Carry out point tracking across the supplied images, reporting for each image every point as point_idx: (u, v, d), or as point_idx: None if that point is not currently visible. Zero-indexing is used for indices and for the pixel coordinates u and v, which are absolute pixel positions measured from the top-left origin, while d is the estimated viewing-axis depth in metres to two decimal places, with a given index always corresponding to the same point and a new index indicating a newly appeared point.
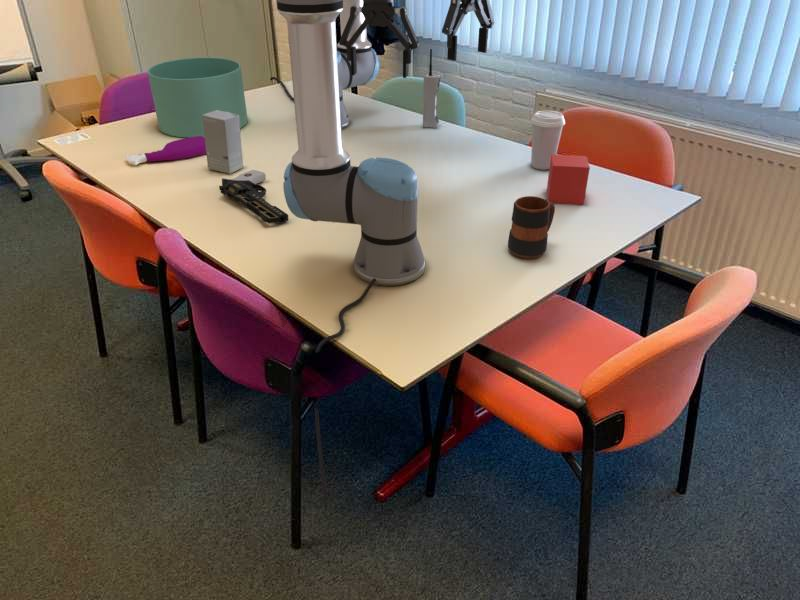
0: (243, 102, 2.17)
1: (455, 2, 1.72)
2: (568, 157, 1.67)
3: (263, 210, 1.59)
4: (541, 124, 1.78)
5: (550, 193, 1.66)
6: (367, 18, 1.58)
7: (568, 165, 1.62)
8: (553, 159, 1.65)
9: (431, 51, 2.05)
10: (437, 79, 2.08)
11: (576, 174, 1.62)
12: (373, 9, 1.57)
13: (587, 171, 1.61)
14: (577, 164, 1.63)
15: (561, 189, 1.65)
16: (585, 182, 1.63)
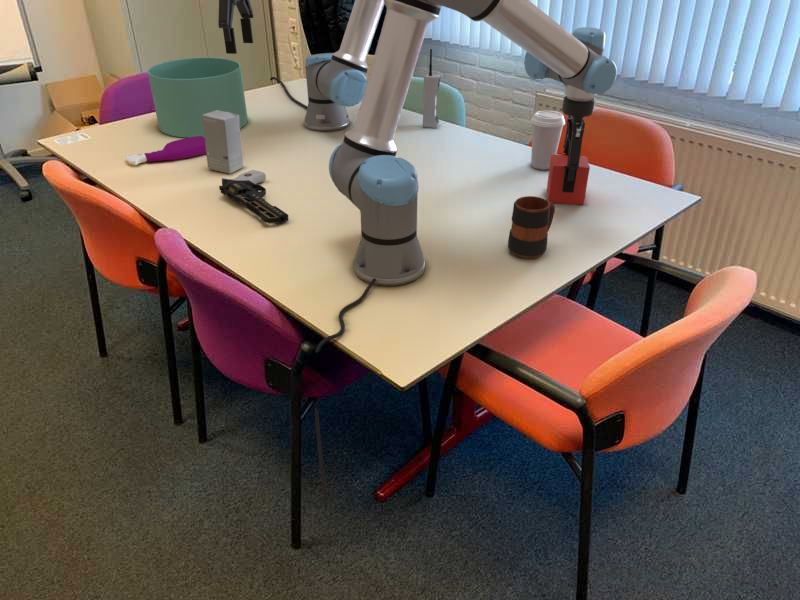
0: (243, 102, 2.17)
1: None
2: None
3: (263, 210, 1.59)
4: (541, 124, 1.78)
5: (550, 193, 1.66)
6: None
7: None
8: (553, 159, 1.65)
9: (431, 51, 2.05)
10: (437, 79, 2.08)
11: (576, 174, 1.62)
12: None
13: (587, 171, 1.61)
14: None
15: (561, 189, 1.65)
16: (585, 182, 1.63)
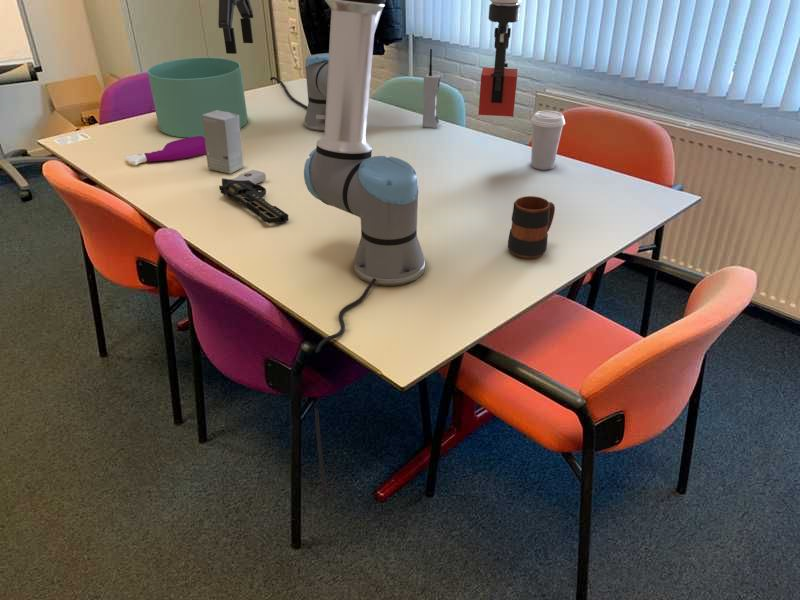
0: (243, 102, 2.17)
1: None
2: None
3: (263, 210, 1.59)
4: (541, 124, 1.78)
5: (480, 105, 1.67)
6: (509, 37, 1.58)
7: None
8: (483, 70, 1.66)
9: (431, 51, 2.05)
10: (437, 79, 2.08)
11: (504, 84, 1.63)
12: (507, 27, 1.58)
13: (515, 80, 1.62)
14: (506, 74, 1.63)
15: (490, 100, 1.65)
16: (513, 92, 1.64)
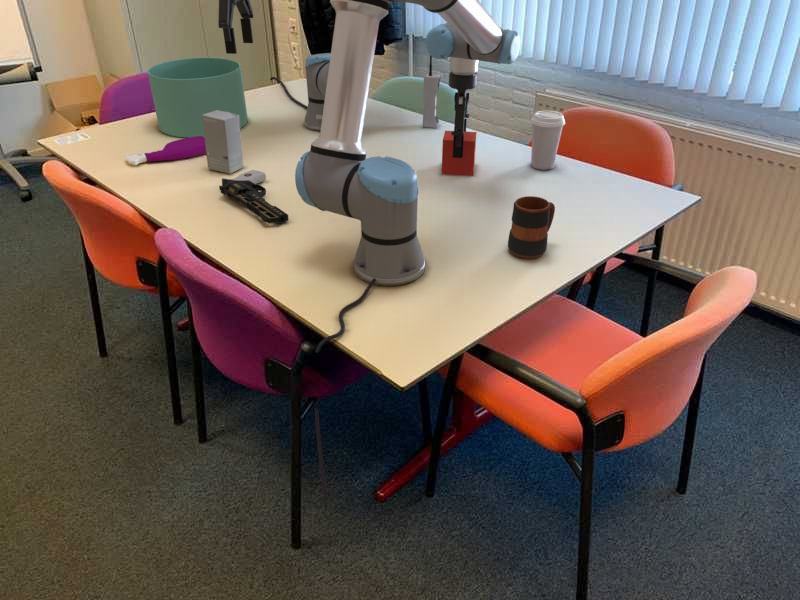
0: (243, 102, 2.17)
1: None
2: None
3: (263, 210, 1.59)
4: (541, 124, 1.78)
5: (442, 165, 1.82)
6: (467, 102, 1.73)
7: None
8: (445, 134, 1.82)
9: None
10: (437, 79, 2.08)
11: (463, 148, 1.78)
12: None
13: (473, 145, 1.77)
14: (465, 138, 1.79)
15: (452, 161, 1.81)
16: (472, 155, 1.79)
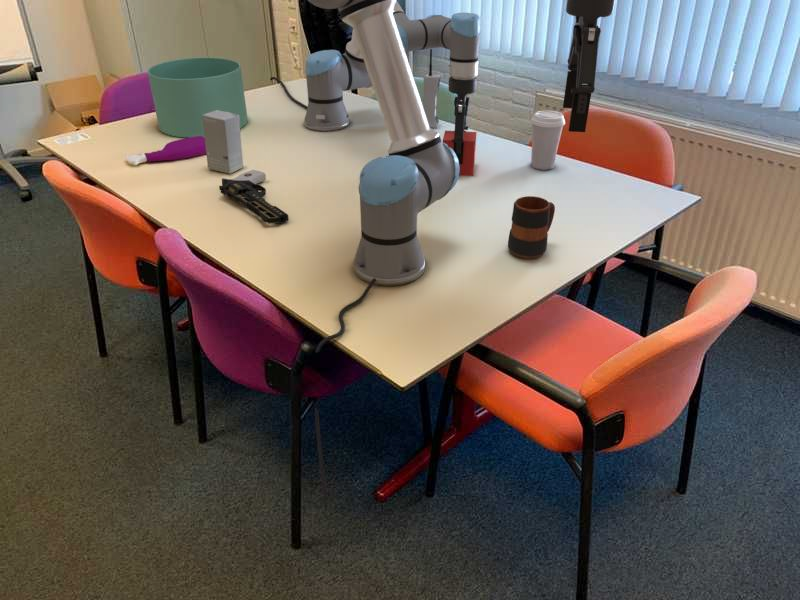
0: (243, 102, 2.17)
1: None
2: None
3: (263, 210, 1.59)
4: (541, 124, 1.78)
5: None
6: None
7: None
8: (445, 134, 1.82)
9: (431, 51, 2.05)
10: (437, 79, 2.08)
11: None
12: None
13: (473, 145, 1.78)
14: (465, 138, 1.79)
15: None
16: (472, 155, 1.79)
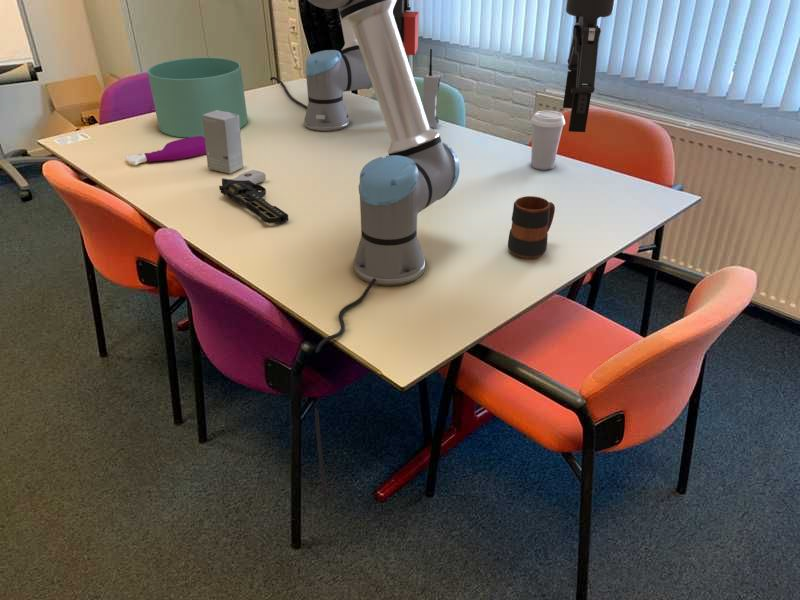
0: (243, 102, 2.17)
1: None
2: None
3: (263, 210, 1.59)
4: (541, 124, 1.78)
5: None
6: None
7: None
8: None
9: (431, 51, 2.05)
10: (437, 79, 2.08)
11: (404, 24, 1.79)
12: None
13: (413, 21, 1.78)
14: (406, 15, 1.79)
15: None
16: (413, 32, 1.79)
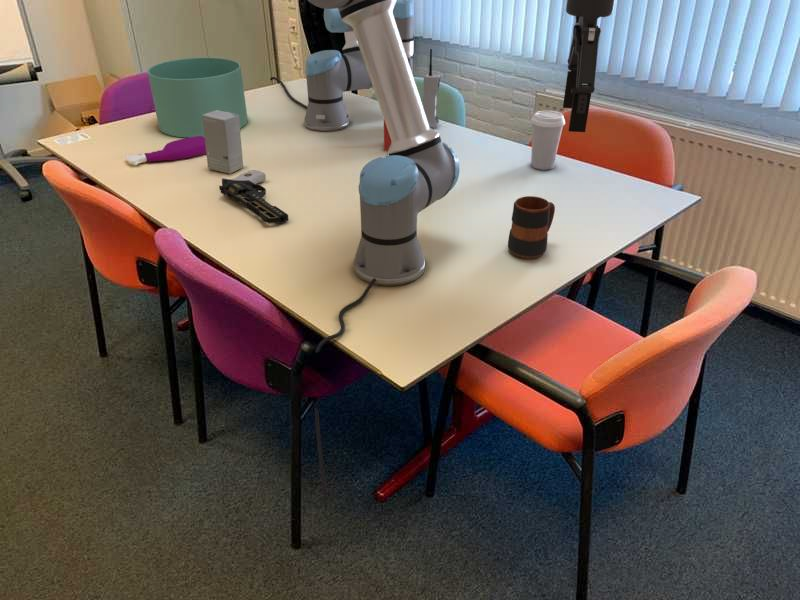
0: (243, 102, 2.17)
1: None
2: None
3: (263, 210, 1.59)
4: (541, 124, 1.78)
5: (385, 142, 1.98)
6: None
7: None
8: None
9: (431, 51, 2.05)
10: (437, 79, 2.08)
11: None
12: None
13: None
14: None
15: None
16: None
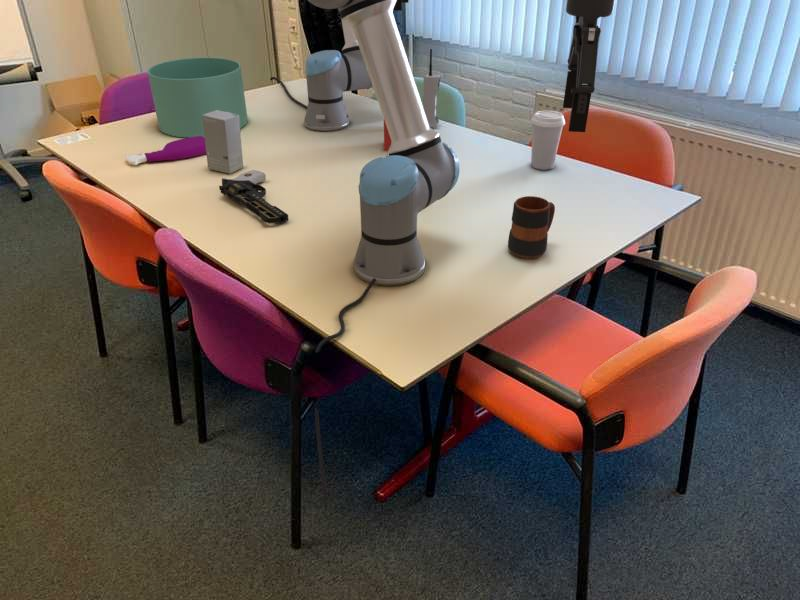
0: (243, 102, 2.17)
1: None
2: None
3: (263, 210, 1.59)
4: (541, 124, 1.78)
5: (385, 142, 1.98)
6: None
7: None
8: None
9: (431, 51, 2.05)
10: (437, 79, 2.08)
11: None
12: None
13: None
14: None
15: None
16: None
